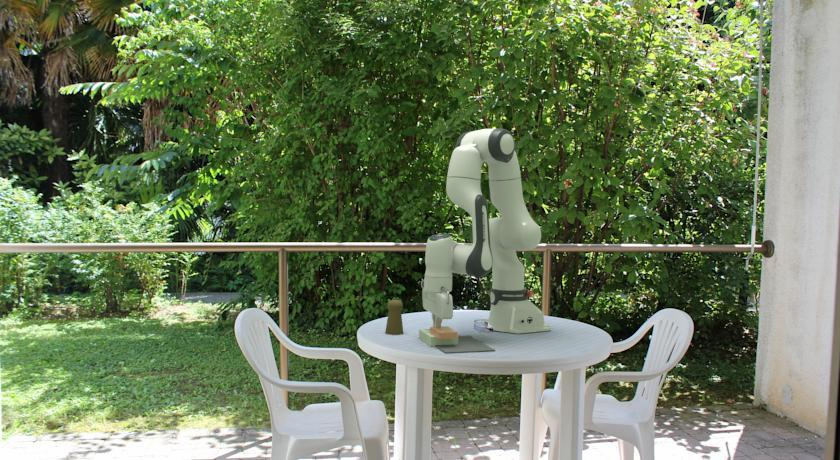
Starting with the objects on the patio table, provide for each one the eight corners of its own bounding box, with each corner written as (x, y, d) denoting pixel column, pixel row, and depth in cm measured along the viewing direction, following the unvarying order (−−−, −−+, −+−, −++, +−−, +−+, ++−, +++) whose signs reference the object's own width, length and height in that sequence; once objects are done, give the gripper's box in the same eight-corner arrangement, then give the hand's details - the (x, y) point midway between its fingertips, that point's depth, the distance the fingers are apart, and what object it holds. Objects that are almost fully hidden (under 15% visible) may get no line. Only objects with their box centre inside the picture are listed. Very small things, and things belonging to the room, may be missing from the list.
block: (447, 332, 228) (447, 326, 228) (457, 338, 220) (457, 332, 219) (429, 333, 226) (429, 326, 226) (438, 339, 218) (438, 332, 218)
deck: (445, 337, 235) (445, 328, 235) (457, 345, 224) (458, 335, 223) (418, 338, 232) (419, 329, 232) (430, 346, 221) (430, 337, 221)
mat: (469, 336, 237) (469, 335, 237) (495, 351, 217) (495, 349, 217) (423, 338, 232) (423, 337, 232) (445, 353, 212) (445, 352, 212)
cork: (399, 335, 236) (400, 302, 236) (382, 333, 238) (383, 300, 238) (405, 332, 242) (406, 299, 241) (389, 330, 244) (390, 298, 243)
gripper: (458, 289, 219) (457, 334, 220) (437, 280, 238) (436, 322, 239) (439, 290, 217) (437, 335, 218) (419, 281, 236) (418, 322, 237)
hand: (436, 328), depth 229 cm, fingers closed
